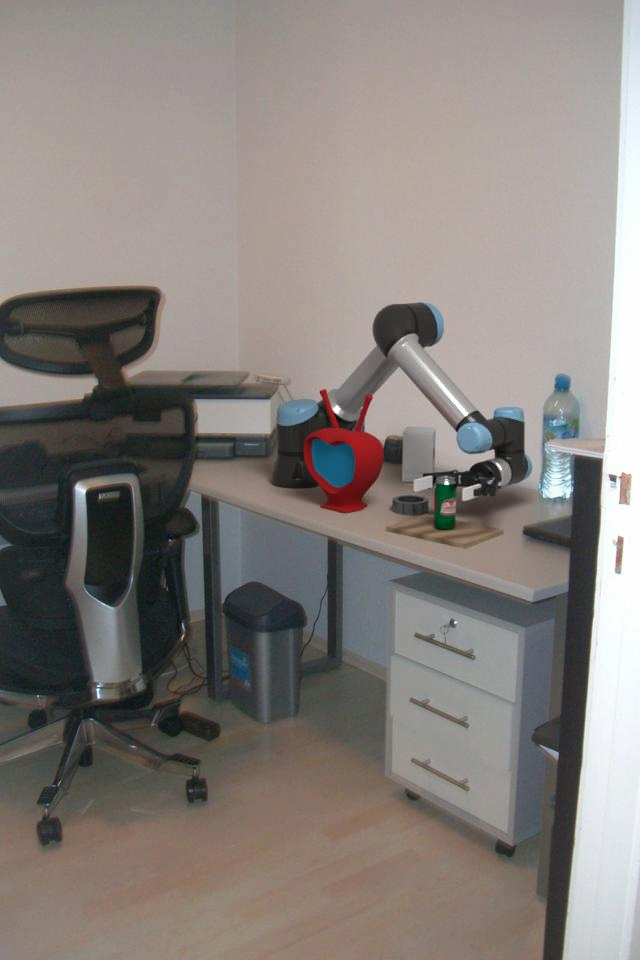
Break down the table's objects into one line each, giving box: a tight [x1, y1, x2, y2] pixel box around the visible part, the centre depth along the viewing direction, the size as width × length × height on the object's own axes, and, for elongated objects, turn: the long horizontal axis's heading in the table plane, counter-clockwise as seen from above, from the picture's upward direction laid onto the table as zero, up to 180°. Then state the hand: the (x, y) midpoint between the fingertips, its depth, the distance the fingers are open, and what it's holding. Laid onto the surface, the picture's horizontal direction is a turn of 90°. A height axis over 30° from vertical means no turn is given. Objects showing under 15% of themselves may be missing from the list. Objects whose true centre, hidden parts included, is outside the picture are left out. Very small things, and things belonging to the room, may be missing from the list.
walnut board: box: [385, 513, 504, 549], centre depth 222 cm, size 22×16×1 cm
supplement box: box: [401, 426, 437, 483], centre depth 276 cm, size 9×9×15 cm
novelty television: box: [303, 388, 385, 514], centre depth 243 cm, size 21×13×30 cm, turn 46°
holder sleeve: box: [391, 494, 430, 516], centre depth 242 cm, size 9×9×3 cm
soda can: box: [433, 476, 458, 530], centre depth 221 cm, size 5×5×12 cm
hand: (438, 490), depth 218 cm, fingers open, 13 cm apart
